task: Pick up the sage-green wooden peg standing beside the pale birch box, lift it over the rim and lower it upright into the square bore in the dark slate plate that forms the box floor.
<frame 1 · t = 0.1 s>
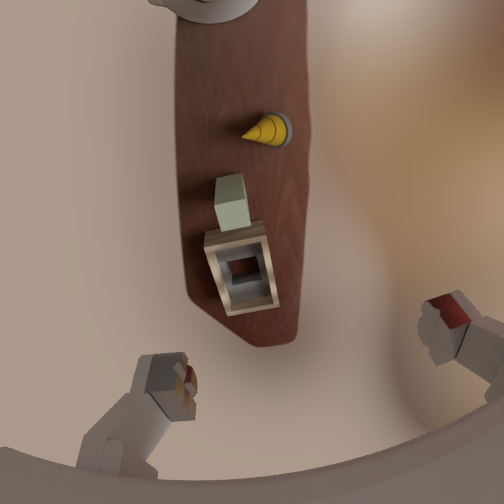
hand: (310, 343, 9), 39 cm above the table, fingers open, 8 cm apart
peg: (231, 186, 47), on the table
drill bit: (266, 129, 42), on the table
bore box: (243, 262, 55), on the table
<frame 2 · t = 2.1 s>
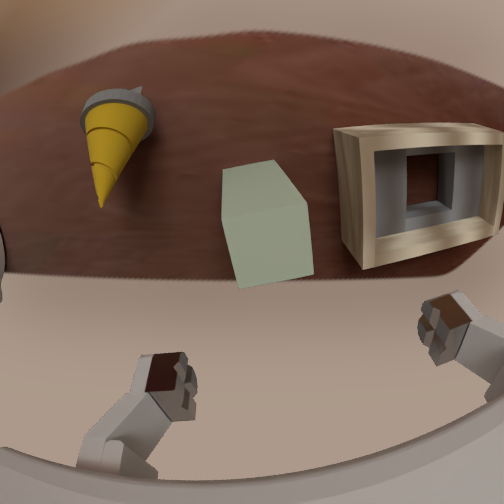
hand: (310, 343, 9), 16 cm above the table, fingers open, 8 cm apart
peg: (253, 188, 23), on the table
drill bit: (134, 127, 20), on the table
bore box: (416, 176, 24), on the table
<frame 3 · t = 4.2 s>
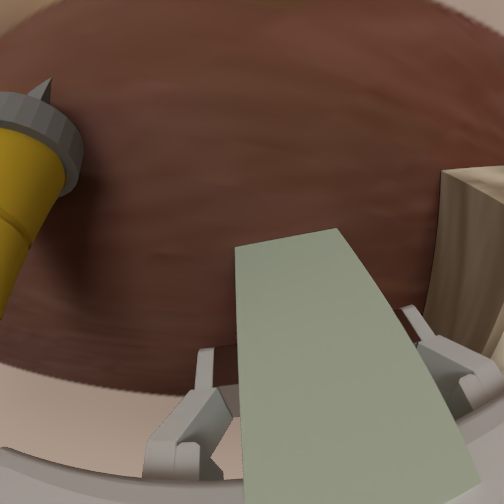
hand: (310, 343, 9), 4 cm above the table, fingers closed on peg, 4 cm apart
peg: (292, 280, 12), on the table, touching gripper
drill bit: (60, 163, 9), on the table
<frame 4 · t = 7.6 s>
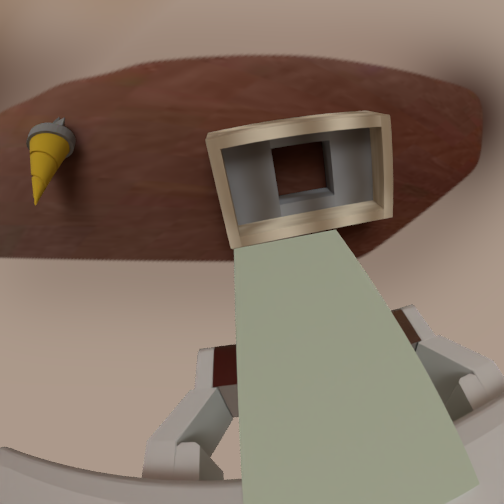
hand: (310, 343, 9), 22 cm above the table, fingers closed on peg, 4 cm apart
peg: (291, 281, 12), point 19 cm above the table, touching gripper
drill bit: (66, 146, 25), on the table
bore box: (298, 166, 29), on the table
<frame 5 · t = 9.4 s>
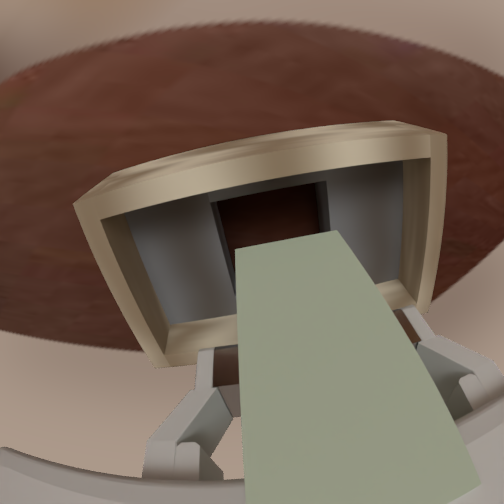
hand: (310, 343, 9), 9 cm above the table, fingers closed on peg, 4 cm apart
peg: (292, 282, 12), point 6 cm above the table, touching gripper
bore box: (271, 222, 17), on the table
when the fingers open (5 cm above the table, at t = 11.1 s): peg drops 1 cm, resting in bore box.
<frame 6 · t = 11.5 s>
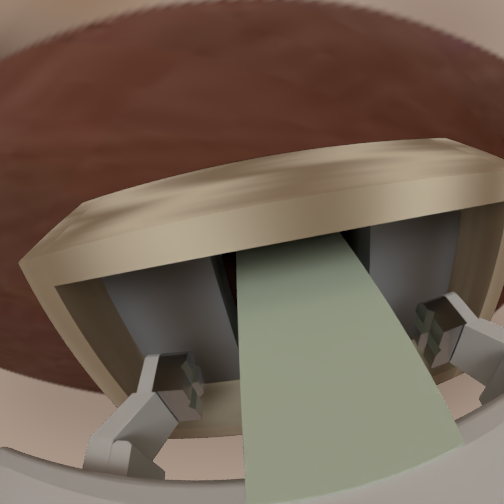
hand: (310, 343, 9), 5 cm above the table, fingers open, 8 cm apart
peg: (289, 268, 13), resting in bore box
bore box: (289, 268, 13), on the table
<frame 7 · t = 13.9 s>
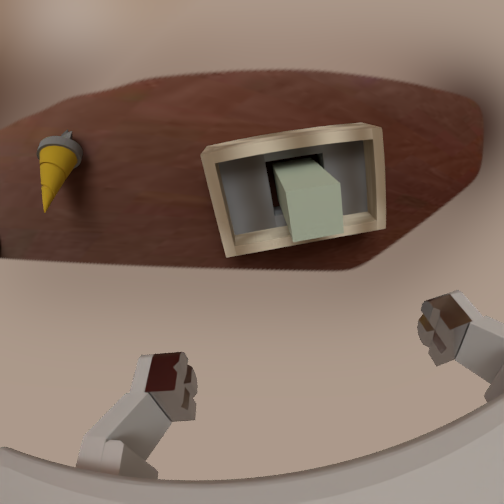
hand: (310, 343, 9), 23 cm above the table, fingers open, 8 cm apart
peg: (293, 178, 30), resting in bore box
drill bit: (74, 156, 28), on the table
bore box: (294, 178, 30), on the table
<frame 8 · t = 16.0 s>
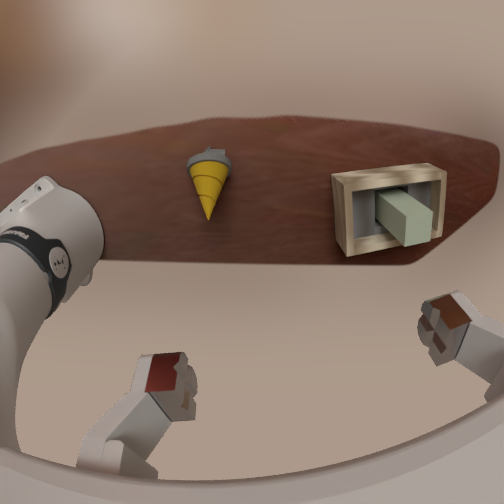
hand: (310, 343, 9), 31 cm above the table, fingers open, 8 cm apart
peg: (383, 200, 40), resting in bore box
drill bit: (214, 170, 37), on the table
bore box: (384, 200, 40), on the table
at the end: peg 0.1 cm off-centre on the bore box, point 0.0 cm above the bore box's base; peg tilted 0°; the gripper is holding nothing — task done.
